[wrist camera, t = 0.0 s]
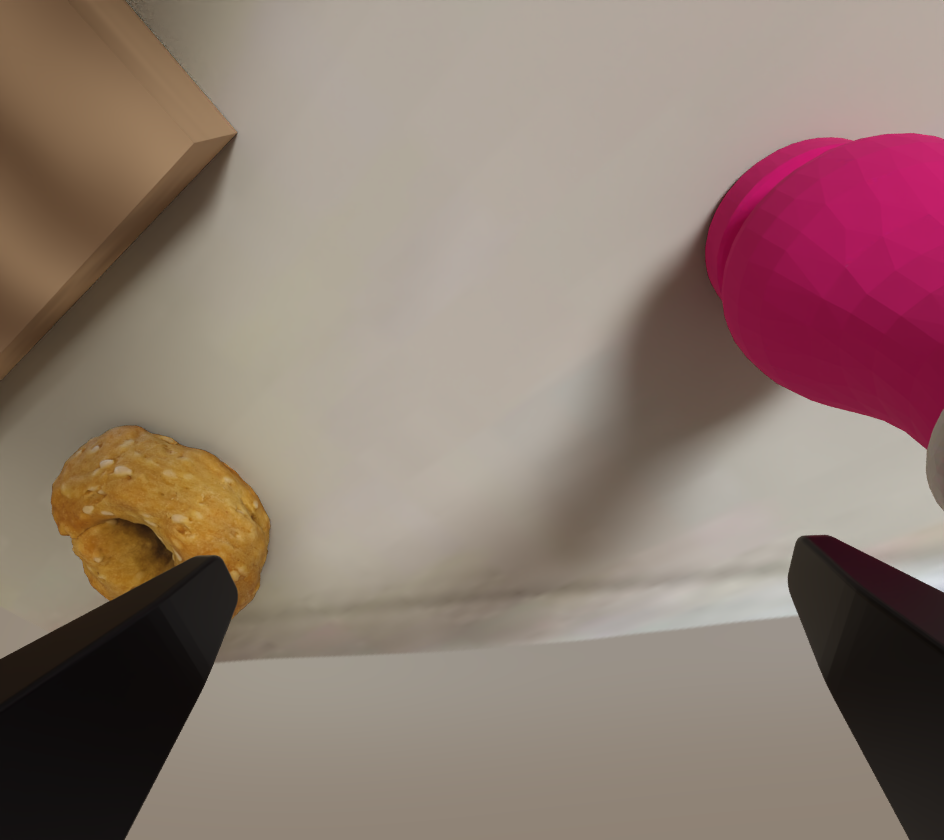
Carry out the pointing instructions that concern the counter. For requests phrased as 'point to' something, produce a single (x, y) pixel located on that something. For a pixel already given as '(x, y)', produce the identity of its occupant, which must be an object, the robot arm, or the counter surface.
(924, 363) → the pepper mill
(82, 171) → the stool seat
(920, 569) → the counter surface
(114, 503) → the bagel
